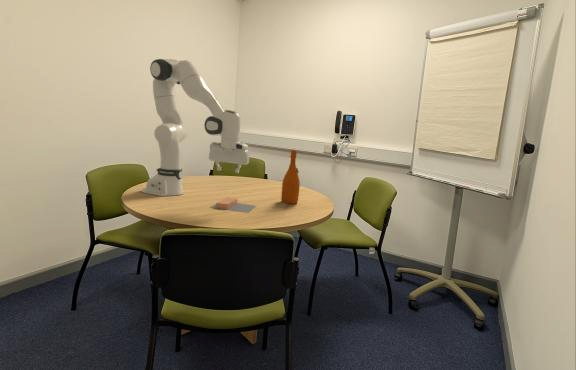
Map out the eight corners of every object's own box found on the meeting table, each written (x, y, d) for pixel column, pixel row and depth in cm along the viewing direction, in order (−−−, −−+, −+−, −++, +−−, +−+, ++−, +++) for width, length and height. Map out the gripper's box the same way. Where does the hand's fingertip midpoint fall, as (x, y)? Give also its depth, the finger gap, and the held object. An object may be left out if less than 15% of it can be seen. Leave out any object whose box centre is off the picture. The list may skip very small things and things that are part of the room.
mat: (209, 208, 174) (209, 207, 174) (220, 202, 189) (220, 200, 189) (248, 214, 171) (248, 212, 171) (256, 206, 185) (256, 205, 185)
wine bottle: (296, 205, 196) (301, 151, 190) (279, 203, 198) (283, 149, 192) (299, 201, 205) (304, 150, 200) (282, 199, 207) (287, 148, 201)
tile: (226, 201, 188) (216, 207, 175) (226, 197, 188) (216, 202, 174) (237, 203, 187) (227, 209, 174) (237, 198, 187) (227, 204, 173)
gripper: (207, 142, 173) (206, 169, 176) (247, 146, 170) (245, 174, 172) (212, 141, 179) (211, 168, 182) (251, 145, 176) (249, 173, 179)
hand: (228, 171), depth 177 cm, fingers open, 8 cm apart
